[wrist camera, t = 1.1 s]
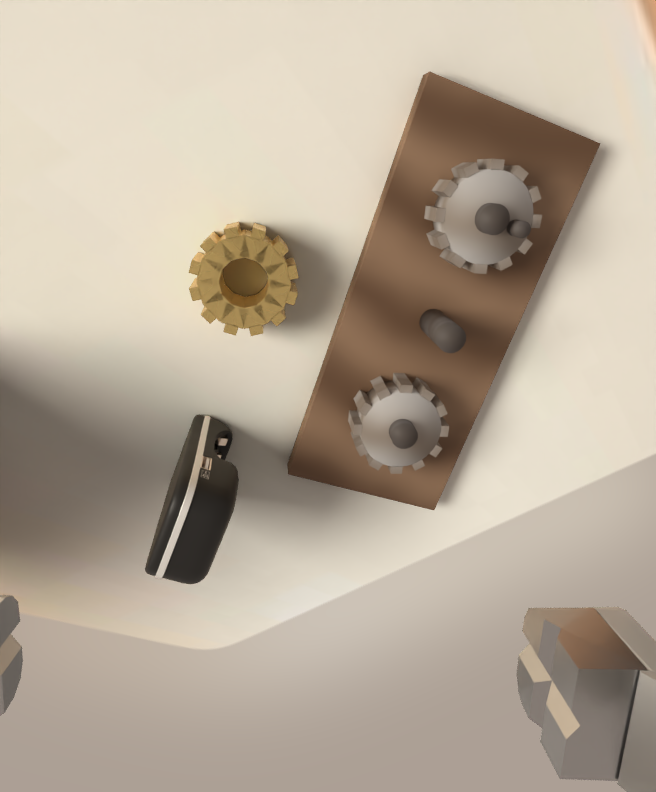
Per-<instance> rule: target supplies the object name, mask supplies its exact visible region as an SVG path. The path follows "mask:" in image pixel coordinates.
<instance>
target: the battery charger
mask: <svg viewBox="0 0 656 792" xmlns="http://www.w3.org/2000/svg"><path fill="white" fill-rule="evenodd" d="M231 442H232V432H231V430H230V428H229V427H228V426H226V425H225V424H223V423H222V422H220V421H218V420H215V419H212V418H211V417H210V416H206V415H205V416H203V415H196V416H195V417H194V419H193V422H192V425H191V428H190V430H189V433H188V436H187V438H186V441H185V444H184V447H183V449H182V452H181V455H180V458H179V460H178V463H177V466H176V468H175V471H174V474H173V477H172V479H171V482H170V485H169V488H168V492H167V495H166V499H165V502H164V505H163V509H162V512H161V515H160V519H159V522H158V525H157V529H156V532H155V535H154V539H153V542H152V546H151V549H150V552H149V556H148V559H147V563H146V567H145V571H146V572H147V573H148V574H150V575H154V577H155V578H158V579H162V578H165V579H169V580H173V581H177V582H181V583H186V584H195V583H198V582H200V581H201V580H203V579H204V578H205V576H206V575H207V574H208V572H209V569H210V567H211V564H212V562H213V560H214V557H215V555H216V552H217V550H218V548H219V545H220V543H221V540H222V538H223V535H224V533H225V531H226V528H227V526H228V523H229V521H230V518H231V516H232V513H233V509H234V505H235V501H236V495H237V489H238V481H239V479H238V471H237V469H236V467H235V466H234V465H233V464H232V463H230V462H228V461H225V458H226V455H227V453H228V450H229V448H230V445H231Z"/></svg>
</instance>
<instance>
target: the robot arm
mask: <svg viewBox="0 0 656 792" xmlns="http://www.w3.org/2000/svg"><path fill="white" fill-rule="evenodd" d="M19 622H20V617H19V606H18V601H17V600H16V599H15V598H14V597H13V596H10V595H0V715H2V714H4V713H5V711H6V709H7V708H8V706H9V705H10V703H11V701H12V700H13V698H14V695H15V693H16V690H17V687H18V684H19V681H20V678H21V671H22V662H23V659H22V647H21V645H20V644H19V643H18V642H17V640H16V639H15V638H14V637H13V636H12V635H11V632H12V631H13V630H14V628H15V627H16V626H17V625H18V623H19ZM522 631H523V633H524V634H525V636H526V638H527V639H528V641H529V644H528V645H527V647H526V648H525V649H524V650H523V651H522V652H521V653H520V654H519V657H518V666H517V681H518V692H519V695H520V699H521V702H522V705H523V707H524V709H525V712H526V714H527V715H528V718H529V719H530V720H532V721H533V722H534V723H536V724H537V725H539V726H540V727H541V728H542V735H541V743H542V745H543V747H544V749H545V751H546V753H547V755H548V757H549V759H550V761H551V763H552V765H553V767H554V769H555V770H556V772H557V774H558V776H559V778H560V779H578V780H608V781H618V783H617V784H618V785H619V786H621V787H622V788H623V789H624V790H625V791H627V792H656V641H655V640H654V639H653V638H652V637H651V636H650V635H649V634H648V633H647V632H646V631H645V630H644V629H643V628H642V627H641V626H640V624H639V623H637V621H636V620H635V619H634V618H633V617H632V616H631V615H630V614H629V613H628V612H627V611H626V610H624V609H622V608H619V607H589V608H528V611H527V613H526V615H525V617H524V624H523V630H522Z"/></svg>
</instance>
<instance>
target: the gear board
mask: <svg viewBox="0 0 656 792" xmlns="http://www.w3.org/2000/svg"><path fill="white" fill-rule="evenodd" d="M599 145H600V143H598V142H595V141H593V140H590V139H588V138H586V137H583V136H581V135H579V134H576V133H574V132H571V131H569V130H567V129H564V128H562V127H560V126H557V125H555V124H553V123H550V122H548V121H545V120H543V119H541V118H538V117H536V116H534V115H531V114H529V113H526V112H524V111H522V110H519V109H517V108H515V107H512V106H510V105H508V104H505V103H503V102H500V101H498V100H496V99H493V98H491V97H489V96H486V95H484V94H481V93H479V92H477V91H474V90H472V89H470V88H467V87H465V86H463V85H460V84H458V83H455V82H453V81H451V80H448V79H446V78H444V77H441V76H439V75H436V74H434V73H432V72H428V73H427V74H425V75H423V78H422V80H421V83H420V86H419V89H418V92H417V95H416V98H415V100H414V103H413V106H412V109H411V112H410V115H409V118H408V121H407V123H406V126H405V129H404V132H403V135H402V138H401V141H400V143H399V146H398V149H397V152H396V155H395V158H394V161H393V164H392V166H391V169H390V172H389V175H388V178H387V181H386V184H385V186H384V189H383V192H382V195H381V198H380V201H379V204H378V207H377V209H376V212H375V215H374V218H373V221H372V224H371V227H370V229H369V232H368V235H367V238H366V241H365V244H364V247H363V250H362V252H361V255H360V258H359V261H358V264H357V267H356V270H355V272H354V275H353V278H352V281H351V284H350V287H349V290H348V292H347V295H346V298H345V301H344V304H343V307H342V310H341V313H340V315H339V318H338V321H337V324H336V327H335V330H334V333H333V335H332V338H331V341H330V344H329V347H328V350H327V353H326V356H325V358H324V361H323V364H322V367H321V370H320V373H319V376H318V378H317V381H316V384H315V387H314V390H313V393H312V396H311V399H310V401H309V404H308V407H307V410H306V413H305V416H304V419H303V421H302V424H301V427H300V430H299V433H298V436H297V439H296V442H295V444H294V447H293V450H292V453H291V456H290V459H289V462H288V464H287V466H288V474H290V475H294V476H298V477H302V478H306V479H310V480H314V481H318V482H322V483H326V484H330V485H334V486H338V487H342V488H346V489H350V490H354V491H358V492H362V493H366V494H370V495H374V496H378V497H383V498H387V499H391V500H395V501H399V502H403V503H407V504H411V505H415V506H419V507H423V508H427V509H431V510H434V509H435V507H436V505H437V503H438V500H439V498H440V496H441V494H442V492H443V489H444V487H445V485H446V483H447V481H448V478H449V476H450V474H451V472H452V470H453V467H454V465H455V463H456V461H457V459H458V456H459V454H460V452H461V450H462V447H463V445H464V443H465V441H466V439H467V436H468V434H469V432H470V430H471V428H472V425H473V423H474V421H475V419H476V417H477V414H478V412H479V410H480V408H481V406H482V403H483V401H484V399H485V397H486V395H487V392H488V390H489V388H490V386H491V384H492V381H493V379H494V377H495V375H496V373H497V370H498V368H499V366H500V364H501V362H502V359H503V357H504V355H505V353H506V350H507V348H508V346H509V344H510V342H511V339H512V337H513V335H514V333H515V331H516V328H517V326H518V324H519V322H520V320H521V317H522V315H523V313H524V311H525V309H526V306H527V304H528V302H529V300H530V298H531V295H532V293H533V291H534V289H535V287H536V284H537V282H538V280H539V278H540V276H541V273H542V271H543V269H544V267H545V264H546V262H547V260H548V258H549V256H550V253H551V251H552V249H553V247H554V245H555V242H556V240H557V238H558V236H559V234H560V231H561V229H562V227H563V225H564V223H565V220H566V218H567V216H568V214H569V212H570V209H571V207H572V205H573V203H574V201H575V198H576V196H577V194H578V192H579V190H580V187H581V185H582V183H583V181H584V179H585V176H586V174H587V172H588V170H589V167H590V165H591V163H592V161H593V159H594V156H595V154H596V152H597V150H598V148H599Z"/></svg>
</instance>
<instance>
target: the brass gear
mask: <svg viewBox="0 0 656 792" xmlns="http://www.w3.org/2000/svg"><path fill="white" fill-rule="evenodd" d="M224 232H225V234H223V235H222V236H221V237H219V236H218V235H217V234H216V233H215V232H213V233H212V234H211V235H210V236H209V237H208V238H207V239H205V241H204V242H203V243H202V244H201V246H200V247H201V248H202V249H203V250H204V251H205V252H206V253H205V254H202V253H199V252H198V253H197V254H196V255H195V257H194V258H193V259H192V262H191V266H190V270H189V273H192V274H195V275H198V276H197V278H195V280H194V281H193V283H192V285H191V286H190V288H189V290H190V293H191V297H192V300H193V301H195V300H200V299H202V303H203V304H204V308H203V311H202V313H201V315H202V316H203V317H204V318H205V319H206V320H207V321H208V322H209V323H212V322H213V321H214V320H215V319H216V318H217V319H218V320H219V321H221V322H222V323H225V328H224V332H226V333H229V334H233V335H236V333H237V330H238V327H239V328H242V329H243V327H244V329H246V328H249V330H250V334H251V336H253V335H258V334H262V333H263V325H264V324H266V323H268V322H269V321H270V320H271V321H272V322H273V323H274V324H275V325H276V326H278V325H279V324H280V323H281V322H282V321H283V320H284V319H286V315H285V309H284V307H285V304H286V303H288V304H291V305H294V304H295V301H296V298H297V295H298V292H297V288H296V285H295V283H292V282H290V280H292V279H297V278H299V277H298V272H297V268H296V264H295V261H294V258H293V257H292V258H288V259H285V256H284V255H285V254H286V253H287V252H288V251H289V250H288V247H287V244H286V243H285V242H284V241H283V240H282V239H281V237H280V236H279V235H278V236H277V237H276V238H274V239H273V240H271V239H270V238H269V237H268V236H265V234H266V227H265V226H262V225H259V224H256V223H254V224H253V228H252V231H250V230H247V231H246V229H245V230H241V227H240V223H239V222H236V223H231V224H227V225H226V227H225V228H224ZM240 258H247V259H251V260H254V261H257V262H258V263H259V264H260V265H261V266H262V267H263V268H264V269H265V270H266V272H267V276H268V280H267V283H266V286H265V287H264V288H263V289H262V290H261V291H260V292H259V293H258V294H256V295H251V296H247V297H245V296H241V295H238V294H235V293H233V292H232V291H231V290H230V289H229V288H228V287H227V286H226V284H225V281H224V277H223V273H222V272H223V268H224V267H225V266H226V265H227V264H228V263H229V262H230V261H232V260H236V259H240Z"/></svg>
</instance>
